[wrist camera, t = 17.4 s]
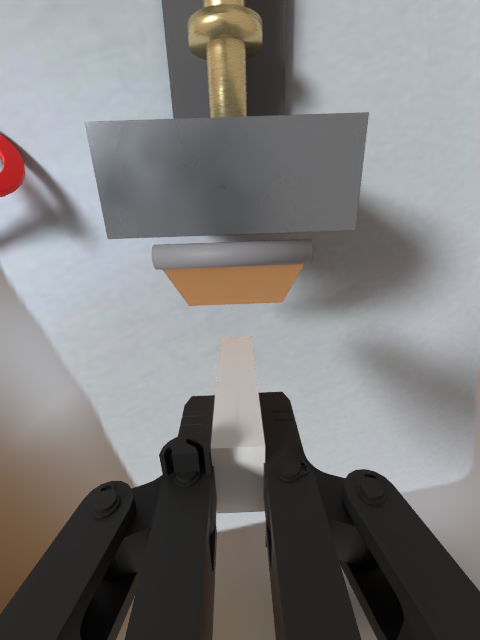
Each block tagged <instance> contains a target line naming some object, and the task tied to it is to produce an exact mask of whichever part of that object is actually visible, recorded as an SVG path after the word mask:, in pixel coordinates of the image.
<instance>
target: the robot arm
mask: <svg viewBox="0 0 480 640" xmlns="http://www.w3.org/2000/svg"><path fill="white" fill-rule="evenodd" d="M159 457H160V462H161V467H162V472H163V475H162V476H160V477H159V478H157V479H156V480H154V481H152V482H150V483H147V484H144V485H141V486H138V487H135V488H132V489H131V488H130V486H129V485H128V484H127V483H124V482H122V481H110V482H107V483H104V484H101V485H100V486H98V487H97V488H95V489H93V490H92V491H91V492H90V493H89V494H88V495H87V496H86V497H85V498H84V499H83V501H82V502H81V504H80V505H79V506H78V508H77V509H76V511H75V512H74V513H73V515H72V516H71V517H70V519H69V520H68V522H67V523H66V525H65V526H64V527H63V529H62V530H61V531H60V533H59V534H58V536H57V537H56V538H55V540H54V541H53V542H52V544H51V545H50V546H49V548H48V549H47V551H46V552H45V553H44V555H43V556H42V558H41V559H40V560H39V562H38V563H37V564H36V566H35V567H34V569H33V570H32V571H31V573H30V574H29V575H28V577H27V578H26V580H25V581H24V582H23V584H22V585H21V586H20V588H19V589H18V591H17V592H16V593H15V595H14V596H13V597H12V599H11V600H10V602H9V603H8V604H7V606H6V607H5V609H4V610H3V611H2V613H1V614H0V640H116V638H117V636H118V633H119V631H120V629H121V626H122V624H123V622H124V620H125V617H126V615H127V613H128V610H129V608H130V606H131V603H132V601H133V599H134V602H133V607H132V611H131V615H130V619H129V623H128V628H127V632H126V636H125V640H212V635H213V612H214V611H213V610H214V588H215V566H216V565H215V564H216V542H217V530H216V510H217V513H236V512H259V511H265V516H266V547H267V549H268V561H269V571H270V582H271V592H272V603H273V614H274V625H275V634H276V635H275V636H276V640H361V637H360V633H359V630H358V626H357V623H356V619H355V616H354V612H353V609H352V605H351V601H350V598H349V594H348V591H347V587H346V584H345V580H344V577H343V573H342V569H343V571H344V573H345V575H346V577H347V579H348V581H349V583H350V585H351V587H352V589H353V591H354V593H355V595H356V597H357V599H358V601H359V603H360V605H361V607H362V609H363V611H364V613H365V615H366V617H367V619H368V621H369V623H370V625H371V627H372V629H373V631H374V633H375V635H376V637H377V639H378V640H480V591H479V590H478V589H477V588H476V586H475V585H474V584H473V583H472V581H470V579H469V578H468V576H467V575H466V574H465V573H464V572H463V570H462V569H461V568H460V567H459V565H458V564H457V563H456V562H455V560H454V559H453V558H452V557H451V556H450V554H449V553H448V552H447V551H446V549H445V548H444V547H443V546H442V544H441V543H440V542H439V541H438V539H437V538H436V537H435V536H434V535H433V533H432V532H431V531H430V530H429V528H428V527H427V526H426V525H425V524H424V522H423V521H422V520H421V519H420V517H419V516H418V515H417V514H416V513H415V511H414V510H413V509H412V508H411V506H410V505H409V504H408V503H407V501H406V500H405V499H404V498H403V496H402V495H401V494H400V493H399V491H398V490H397V489H396V488H395V487H394V485H393V484H392V483H391V482H390V481H388V480H387V479H386V478H385V477H384V476H382V475H380V474H378V473H376V472H374V471H370V470H366V469H363V470H355V471H353V472H351V473H349V474H348V476H347V477H346V478H342V477H338V476H334V475H330V474H327V473H324V472H322V471H320V470H318V469H316V468H315V467H314V466H313V465H312V464H310V462H309V461H308V460H307V458H306V456H305V454H304V451H303V447H302V443H301V440H300V436H299V432H298V429H297V425H296V421H295V417H294V414H293V410H292V406H291V402H290V400H289V399H288V398H287V397H286V395H285V394H284V393H283V392H266V393H258V385H257V377H256V369H255V361H254V353H253V345H252V337H235V338H220V344H219V355H218V367H217V379H216V391H215V395H212V396H192V397H191V398H190V399H189V401H188V402H187V403H186V404H185V407H184V411H183V417H182V420H181V426H180V429H179V434H178V437H176V438H174V439H172V440H170V441H169V442H168V443H167V444H166V445H165V446H164V447H163V448H162V450H161V452H160V454H159ZM340 565H341V566H340ZM341 567H342V569H341ZM134 596H135V598H134Z"/></svg>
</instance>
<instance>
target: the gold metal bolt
mask: <svg viewBox="0 0 480 640" xmlns="http://www.w3.org/2000/svg"><path fill="white" fill-rule="evenodd" d="M203 7H204V8H202V9H200V10H198V11H196V12H195V13H193V14H192V15H191V16H190V18H189V19H188V23H187V27H188V40H189V49H190V51H191V52H192V53H193V54H194V55H195V56H197V57H199V58H201V59H204V60H207V74H208V90H209V107H210V118H216V117H246V116H247V82H246V59H248V58H251V57H253V56H255V55H256V54H257V53H259V52H260V50H261V49H262V45H263V37H262V19H261V17H260V15H259V14H258V13H257V12H255V11H254V10H252V9H250V8H247V7H245V0H203Z"/></svg>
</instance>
